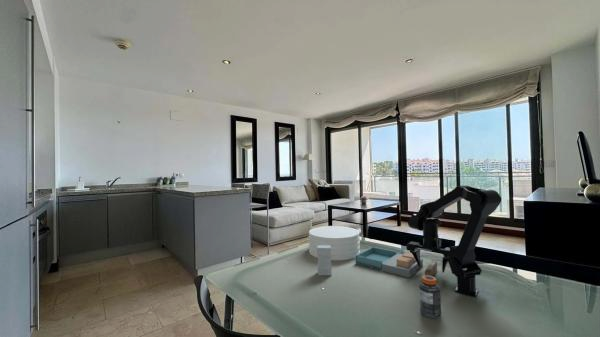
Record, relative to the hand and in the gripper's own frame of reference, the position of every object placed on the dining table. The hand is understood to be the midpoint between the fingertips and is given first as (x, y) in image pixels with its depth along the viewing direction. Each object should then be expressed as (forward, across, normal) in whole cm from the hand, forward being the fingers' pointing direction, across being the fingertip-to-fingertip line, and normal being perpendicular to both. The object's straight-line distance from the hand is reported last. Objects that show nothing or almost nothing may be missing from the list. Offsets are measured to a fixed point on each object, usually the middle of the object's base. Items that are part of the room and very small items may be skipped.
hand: (431, 269), depth 109 cm
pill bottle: (+2, -8, +32) cm, 33 cm away
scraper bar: (+2, 0, 0) cm, 2 cm away
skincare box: (+2, +36, +28) cm, 46 cm away
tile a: (-1, +10, +4) cm, 11 cm away
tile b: (-1, +10, -4) cm, 11 cm away
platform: (+2, +12, 0) cm, 12 cm away
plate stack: (+2, +50, 0) cm, 50 cm away
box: (+2, +25, 0) cm, 25 cm away
